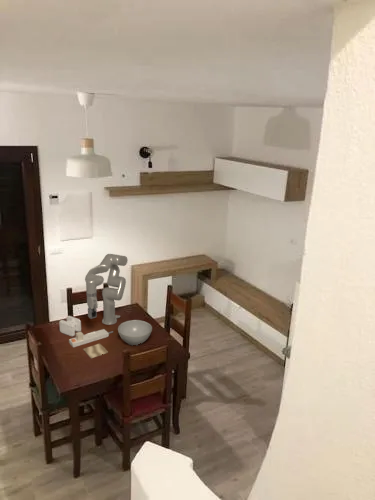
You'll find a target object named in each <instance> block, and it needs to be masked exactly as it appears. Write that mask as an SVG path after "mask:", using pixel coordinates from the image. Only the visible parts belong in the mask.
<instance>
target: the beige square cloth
mask: <svg viewBox="0 0 375 500" xmlns="http://www.w3.org/2000/svg"><path fill="white" fill-rule="evenodd" d="M82 350H83V352H85V354H86V355H87V356H88V357H89V358H90V359H93V358H97V357H99V356H102V354H103V355H105V354H108V353H109V351H108V350H107V348H105V346H103V344H101V343H97V344H94V345H91V346H87V347H85V348H82Z"/></svg>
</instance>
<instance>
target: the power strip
mask: <svg viewBox="0 0 375 500" xmlns="http://www.w3.org/2000/svg"><path fill="white" fill-rule="evenodd" d="M112 333H114V331H113V330H112V331H107V330H106V329H105V328H102V329H99V330H94V331H91V332H88V333H86V334H84V333H83V332H82V331H80V332H75V336H74V337H72V338H70V339H68V343H69V345H70V346H71V347H72V348H76V347H79V346H82V345H86V344H89V343H92V342H96V341H98V340H101V339H105V338H108V337H109V335H110V334H112Z"/></svg>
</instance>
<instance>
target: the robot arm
mask: <svg viewBox="0 0 375 500" xmlns="http://www.w3.org/2000/svg"><path fill="white" fill-rule="evenodd" d="M127 264H128V257H127V256H126V255H120V254H114V253H106V255H105V256H104V258H103V259H102V260H101V262H100V263H99V264H98V265H95V266H94V267H92V268H90V269H89V271H88V272H87V273H86V275H85V277H84V281H85V285H86V286H85V287H86V288H85V290H86V305H87V309H88V308H91V309H92V317H95V316H96V311H98V308H99V306H98V297H97V296H98V295H97V287H99V286H101V285H102V284H104V281H105V278H104V277H103V276H102V275H99V274H103V273H108V276H107V280H106V284H107V286H109V287H104V288H103V289H102V291H101V292H102V293H101V296H102V299H103V300H102V301H103V318H102V320H101V323H102V324H104V325H107V326H110V325H115V324H116V323H117V322H118V319H119V318H121V315H120V314H119V315H118V314H116V302H115V301H121V300H122V298H123V297H124V292H125V288H126V285H127V284H126V283H127V281H126V277H124V276H120V272H121V270H120V267H119V266H121V267H124V266H126V265H127ZM108 271H109V272H108ZM93 309H94V310H93ZM95 318H96V317H95Z"/></svg>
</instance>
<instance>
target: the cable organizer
mask: <svg viewBox="0 0 375 500" xmlns="http://www.w3.org/2000/svg"><path fill="white" fill-rule="evenodd" d="M58 325H59V332H60V333H62V334H63V335H66V336H68V337H69V336H70V337H75V336H76V333H77V332H82V321H81V320H80V318H76V317H74V316H72V315H68V316H66V320H64V319H61V320H59V324H58Z"/></svg>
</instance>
